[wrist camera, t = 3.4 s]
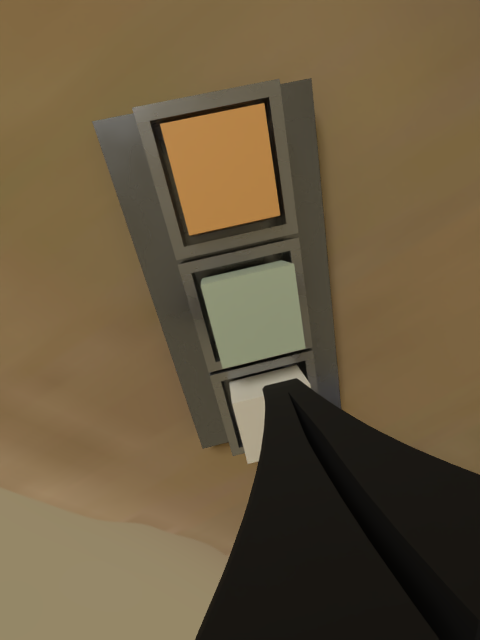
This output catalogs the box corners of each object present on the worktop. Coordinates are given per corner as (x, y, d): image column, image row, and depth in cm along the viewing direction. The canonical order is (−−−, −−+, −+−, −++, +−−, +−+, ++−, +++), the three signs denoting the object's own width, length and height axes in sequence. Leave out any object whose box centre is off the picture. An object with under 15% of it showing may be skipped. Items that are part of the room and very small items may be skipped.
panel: (333, 402, 18) (355, 431, 16) (203, 435, 18) (201, 471, 15) (302, 93, 12) (329, 49, 10) (103, 132, 12) (70, 99, 9)
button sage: (292, 333, 13) (305, 348, 12) (220, 350, 13) (222, 368, 11) (281, 260, 12) (294, 263, 10) (201, 278, 12) (200, 285, 10)
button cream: (305, 420, 15) (318, 445, 14) (243, 436, 15) (247, 463, 13) (296, 364, 14) (310, 384, 12) (229, 381, 14) (231, 403, 12)
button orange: (269, 219, 12) (280, 215, 11) (192, 236, 12) (189, 235, 10) (254, 126, 11) (264, 103, 9) (168, 144, 11) (159, 124, 9)
